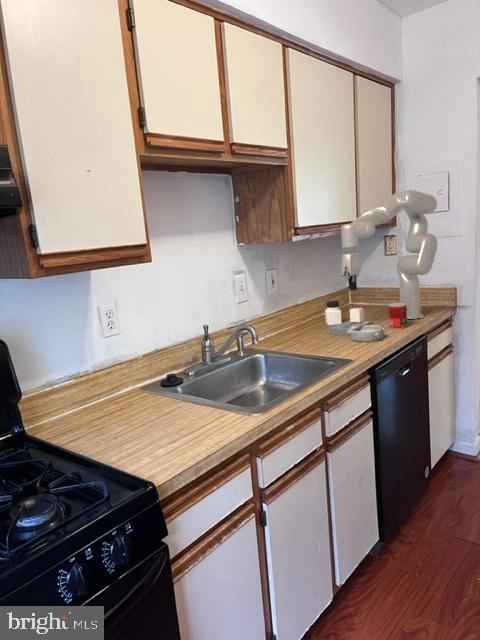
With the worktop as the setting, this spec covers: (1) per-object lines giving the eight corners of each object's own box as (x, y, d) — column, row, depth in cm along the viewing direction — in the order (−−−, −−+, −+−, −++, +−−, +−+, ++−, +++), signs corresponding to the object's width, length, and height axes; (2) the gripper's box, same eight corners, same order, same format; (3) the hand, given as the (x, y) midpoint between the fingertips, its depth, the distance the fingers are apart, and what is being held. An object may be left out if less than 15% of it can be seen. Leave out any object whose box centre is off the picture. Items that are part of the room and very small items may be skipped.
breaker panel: (350, 325, 235) (349, 319, 234) (372, 327, 227) (372, 321, 226) (329, 334, 220) (328, 328, 219) (352, 336, 212) (352, 329, 212)
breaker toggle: (354, 320, 230) (353, 308, 229) (363, 320, 227) (363, 308, 226) (350, 321, 227) (349, 309, 226) (359, 322, 224) (359, 309, 223)
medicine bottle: (342, 324, 240) (340, 301, 238) (328, 325, 241) (326, 302, 239) (339, 321, 247) (338, 299, 245) (325, 322, 248) (324, 300, 246)
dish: (344, 341, 206) (343, 330, 205) (361, 334, 215) (360, 323, 215) (374, 344, 196) (374, 332, 195) (390, 337, 205) (390, 326, 204)
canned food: (404, 329, 217) (403, 305, 215) (387, 328, 222) (386, 305, 220) (409, 325, 223) (408, 302, 221) (392, 325, 228) (392, 302, 226)
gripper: (351, 249, 227) (353, 287, 230) (335, 253, 216) (338, 292, 219) (365, 249, 222) (367, 287, 225) (350, 252, 211) (352, 292, 214)
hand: (353, 290), depth 222 cm, fingers closed
